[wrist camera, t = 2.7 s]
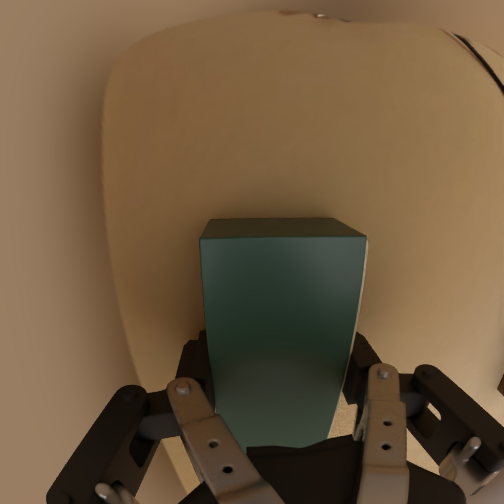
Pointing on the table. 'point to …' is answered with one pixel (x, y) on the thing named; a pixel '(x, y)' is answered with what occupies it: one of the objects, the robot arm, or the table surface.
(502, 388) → the shelf
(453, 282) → the table surface
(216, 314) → the green rectangular block
